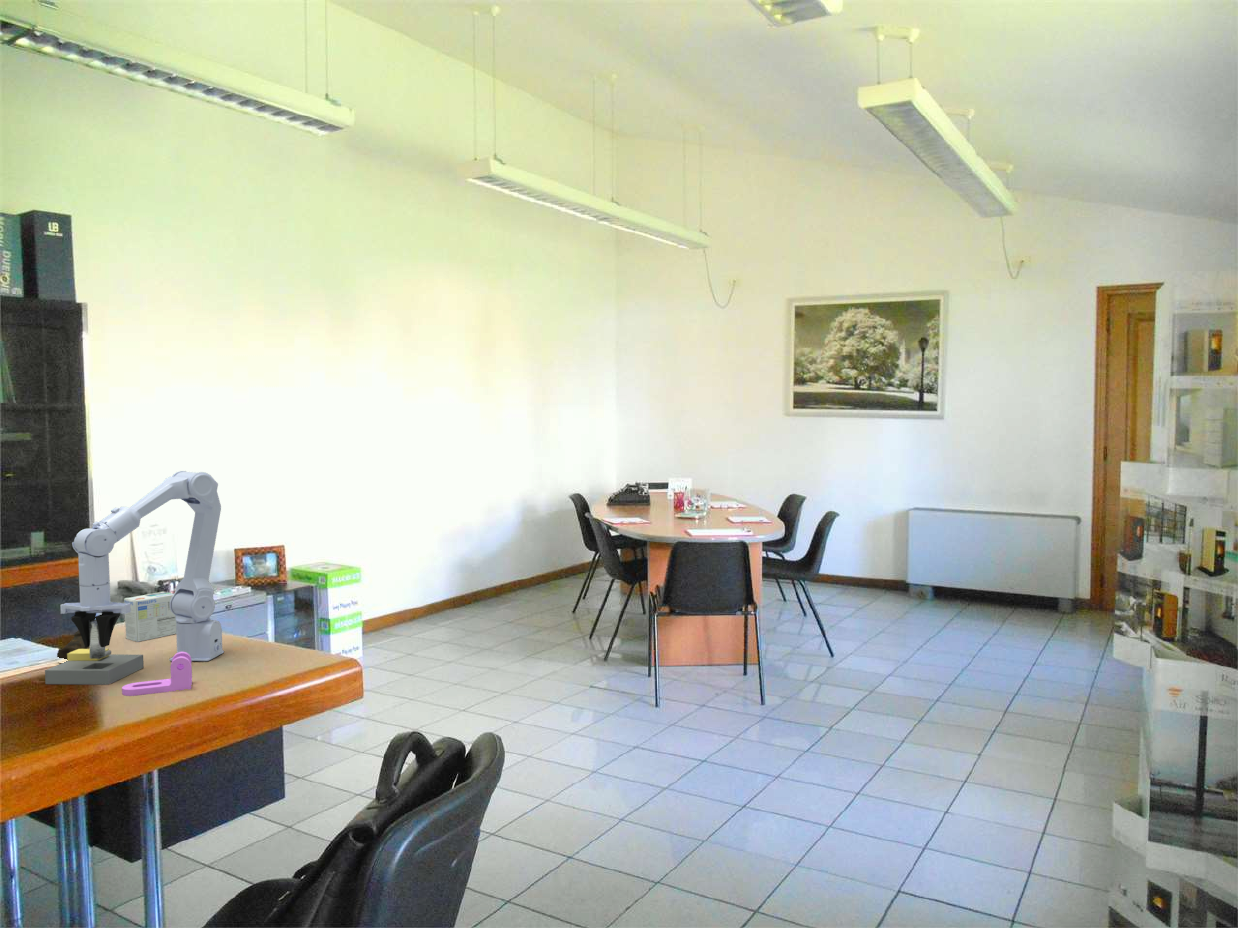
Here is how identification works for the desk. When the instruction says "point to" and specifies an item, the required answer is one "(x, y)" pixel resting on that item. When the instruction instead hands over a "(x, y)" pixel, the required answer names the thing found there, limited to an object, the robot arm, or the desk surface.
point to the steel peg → (95, 641)
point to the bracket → (178, 681)
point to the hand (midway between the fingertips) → (97, 645)
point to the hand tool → (72, 646)
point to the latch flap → (83, 655)
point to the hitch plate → (94, 670)
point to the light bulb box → (149, 617)
